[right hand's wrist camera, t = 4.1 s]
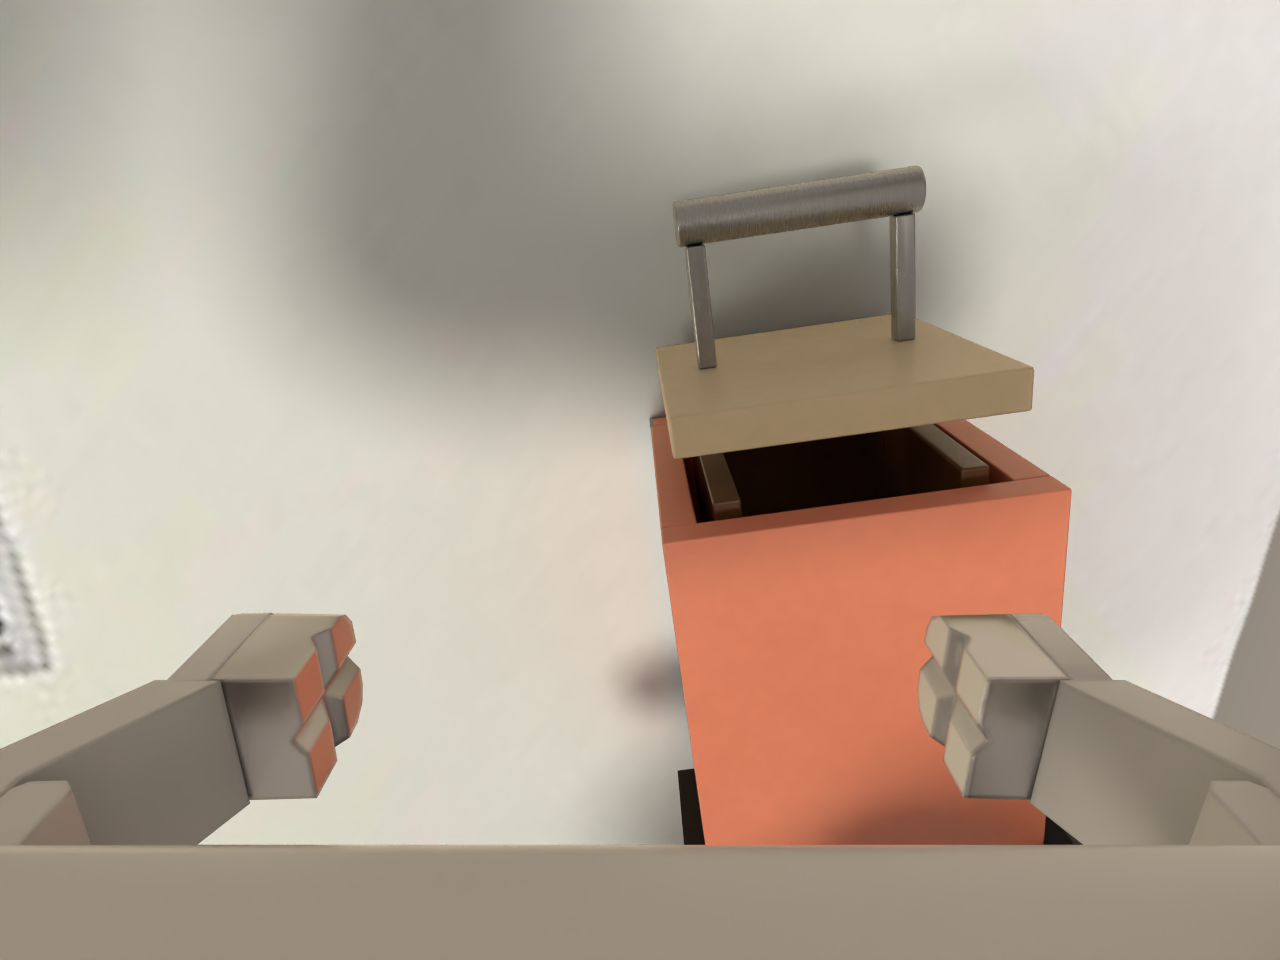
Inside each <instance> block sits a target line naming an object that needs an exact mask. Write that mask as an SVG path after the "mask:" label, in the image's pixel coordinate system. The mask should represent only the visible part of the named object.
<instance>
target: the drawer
mask: <svg viewBox="0 0 1280 960" xmlns="http://www.w3.org/2000/svg"><path fill="white" fill-rule="evenodd" d="M925 196H926V181H925V176H924V172H923V170H922V168H921V167H919V166H911V167H905V168H898V169H891V170H885V171H878V172H871V173H865V174H858V175H851V176H845V177H838V178H831V179H825V180H818V181H811V182H805V183H798V184H791V185H785V186H778V187H771V188H765V189H758V190H751V191H745V192H738V193H731V194H724V195H718V196H711V197H704V198H698V199H691V200H684V201H678V202H674V203H673V216H674V225H675V233H676V240H677V244H678V247H685V248H684V250H685V259H686V268H687V277H688V285H689V294H690V303H691V312H692V321H693V330H694V339H695V342H693V343H686V344H679V345H672V346H665V347H658V348H656V358H657V365H658V373H659V379H660V385H661V391H662V396H663V402H664V408H665V414H666V419H667V425H668V431H669V436H670V442H671V448H672V454H673V457H674V459H681V458H688V457H693V462H694V470H695V478H696V486H697V495H698V503H699V511H700V520H701V523H704V522H711V521H719V520H726V519H734V518H741V517H749V516H756V515H763V514H771V513H778V512H786V511H793V510H801V509H808V508H816V507H823V506H831V505H838V504H846V503H853V502H861V501H868V500H876V499H883V498H891V497H898V496H905V495H913V494H920V493H928V492H935V491H943V490H950V489H958V488H965V487H973V486H980V485H988V484H989V466H988V465H987V464H985V463H984V462H983V461H981V460H980V459H979V458H977V457H976V456H975V455H973V454H972V453H971V452H969V451H968V450H966V449H965V448H964V447H962V446H961V445H960V444H958V443H957V442H956V441H954V440H953V439H952V438H950V437H949V436H948V435H946V434H945V433H944V432H942V431H941V430H939V429H938V428H937V427H935V426H934V425H933V424H936V423H943V422H951V421H958V420H965V419H973V418H980V417H987V416H994V415H1002V414H1009V413H1016V412H1024V411H1029V410H1031V409H1032V395H1033V377H1034V369H1033V367H1031V366H1029V365H1026V364H1024V363H1022V362H1019V361H1017V360H1014V359H1012V358H1010V357H1007V356H1005V355H1002V354H1000V353H997V352H995V351H993V350H990V349H988V348H985V347H983V346H981V345H978V344H976V343H973V342H971V341H969V340H966V339H964V338H961V337H959V336H957V335H954V334H952V333H949V332H947V331H945V330H942V329H940V328H937V327H935V326H933V325H930V324H928V323H925V322H923V321H921V320H918V319H916V318H915V214H913V213H915V212H919V211H920V210H921V209H922V207H923V205H924V202H925ZM888 216H890V278H891V314H889V315H882V316H875V317H868V318H861V319H854V320H847V321H840V322H833V323H826V324H819V325H812V326H805V327H798V328H791V329H784V330H777V331H770V332H763V333H756V334H749V335H742V336H735V337H728V338H721V339H714V331H713V321H712V311H711V302H710V292H709V282H708V272H707V263H706V253H705V246H704V245H703V244H705V243H712V242H719V241H725V240H732V239H739V238H746V237H753V236H759V235H766V234H773V233H780V232H786V231H793V230H800V229H807V228H814V227H820V226H827V225H834V224H841V223H847V222H854V221H861V220H868V219H875V218H881V217H888Z"/></svg>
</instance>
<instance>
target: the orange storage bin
mask: <svg viewBox="0 0 1280 960" xmlns="http://www.w3.org/2000/svg"><path fill="white" fill-rule="evenodd" d="M933 425H934V426H935V427H937V428H938V429H939V430H941V431H942V432H944V433H945V434H946V435H948V436H949V437H950V438H952V439H953V440H954V441H956V442H957V443H958V444H960V445H961V446H962V447H964V448H965V449H966V450H968V451H969V452H971V453H972V454H973V455H975V456H976V457H977V458H979V459H980V460H981V461H983V462H984V463H985V464H987V465H988V466H989V484H988V485H980V486H973V487H965V488H958V489H950V490H943V491H935V492H928V493H920V494H913V495H905V496H898V497H891V498H883V499H876V500H868V501H861V502H853V503H846V504H838V505H831V506H823V507H816V508H808V509H801V510H793V511H786V512H778V513H771V514H763V515H756V516H749V517H741V518H734V519H726V520H719V521H711V522H704V523H701V520H700V511H699V503H698V495H697V486H696V478H695V470H694V462H693V457H688V458H681V459H674V457H673V454H672V448H671V442H670V436H669V431H668V425H667V419H666V417H663V418H656V419H652V418H651V419H650V428H651V436H652V446H653V456H654V466H655V476H656V486H657V496H658V506H659V516H660V526H661V536H662V546H663V553H664V560H665V567H666V574H667V581H668V588H669V595H670V602H671V609H672V616H673V623H674V630H675V637H676V644H677V651H678V658H679V665H680V671H681V678H682V685H683V692H684V699H685V706H686V713H687V720H688V727H689V734H690V741H691V748H692V755H693V762H694V769H695V776H696V783H697V790H698V797H699V804H700V811H701V818H702V825H703V832H704V839H705V845H1044V833H1045V821H1046V815H1045V814H1043V813H1042V812H1041V811H1040V810H1038V809H1037V808H1036V807H1035V806H1033V805H1032V804H1031V803H1030V801H1031V800H1014V799H978V798H963V796H962V795H961V793H960V791H959V789H958V787H957V786H956V784H955V782H954V780H953V778H952V776H951V775H950V773H949V771H948V769H947V767H946V766H945V764H944V762H943V757H944V751H945V747H944V746H943V745H941V744H940V743H938V742H937V741H935V740H934V739H932V738H931V737H930V736H929V734H928V732H927V730H926V728H925V726H924V724H923V721H922V718H921V715H920V712H919V706H918V695H917V686H918V678H919V670H920V668H921V667H922V666H923V665H924V664H925V663H926V662H927V661H928V660H929V659H930V658H931V657H932V654H931V652H930V651H929V649H928V648H927V646H926V644H925V643H924V639H925V634H926V628H927V625H928V623H929V621H930V619H931V616H942V615H982V614H1017V613H1042V614H1045V615H1047V616H1050V617H1051V618H1052V619H1053V620H1054V621H1055V622H1056V623H1057V624H1058V625H1059V626H1060V627H1061V618H1062V605H1063V592H1064V580H1065V567H1066V554H1067V542H1068V529H1069V516H1070V504H1071V489H1070V488H1069V487H1067V486H1066V485H1064V484H1063V483H1061V482H1060V481H1058V480H1056V479H1055V478H1053V477H1052V476H1050V475H1049V474H1047V473H1046V472H1044V471H1043V470H1041V469H1040V468H1038V467H1037V466H1035V465H1034V464H1032V463H1031V462H1029V461H1028V460H1026V459H1024V458H1023V457H1021V456H1020V455H1018V454H1017V453H1015V452H1014V451H1012V450H1011V449H1009V448H1008V447H1006V446H1005V445H1003V444H1002V443H1000V442H999V441H997V440H996V439H994V438H992V437H991V436H989V435H988V434H986V433H985V432H983V431H982V430H980V429H979V428H977V427H976V426H974V425H973V424H971V423H970V422H968V421H967V420H958V421H951V422H943V423H936V424H933Z"/></svg>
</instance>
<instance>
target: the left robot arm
mask: <svg viewBox="0 0 1280 960" xmlns="http://www.w3.org/2000/svg"><path fill="white" fill-rule="evenodd" d="M678 779H679V791H680V802H681V813H682V825H683V836H684V845H705V839H704V832H703V825H702V818H701V811H700V804H699V797H698V790H697V783H696V776H695V769H688V770H680V771H678ZM1044 845H1083V844H1082V843H1080V842H1079V841H1078V840H1077V839H1075V838H1074V837H1073V836H1071V835H1070V834H1069V833H1068V832H1066V831H1065V830H1064V829H1063V828H1061V827H1060V826H1059V825H1057V824H1056V823H1055V822H1054V821H1052V820H1051V819H1050V818H1049V817H1047V816H1046V821H1045V833H1044Z"/></svg>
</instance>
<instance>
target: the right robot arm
mask: <svg viewBox="0 0 1280 960" xmlns="http://www.w3.org/2000/svg"><path fill="white" fill-rule="evenodd" d="M355 643H356V640H355V635H354V630H353V625H352V621H351V620H350V619H349V618H348V617H347V616H346V615H331V614H280V613H277V614H273V613H241V614H236V615H232V616H231V617H230V618H229V619H228V620H227V621H226V622H225V623H224V624H223V625H222V626H221V627H220V628H219V629H218V630H217V631H216V632H215V633H214V634H213V635H212V636H211V637H210V638H209V639H208V640H207V641H206V642H205V643H204V644H203V645H202V646H201V647H200V648H199V649H198V650H197V651H196V652H195V653H194V654H193V655H192V656H191V657H190V658H189V659H188V660H187V661H186V662H185V663H184V664H183V665H182V666H181V667H180V668H179V669H178V670H177V671H176V672H175V673H174V674H173V675H172V676H171V677H170V678H169V679H168V680H155V681H152V682H150V683H148V684H146V685H143V686H141V687H139V688H137V689H134V690H132V691H130V692H128V693H125V694H123V695H121V696H119V697H116V698H114V699H112V700H110V701H107V702H105V703H103V704H101V705H98V706H96V707H94V708H92V709H89V710H87V711H85V712H83V713H80V714H78V715H76V716H74V717H71V718H69V719H67V720H65V721H62V722H60V723H58V724H56V725H53V726H51V727H49V728H47V729H44V730H42V731H40V732H38V733H35V734H33V735H31V736H29V737H26V738H24V739H22V740H19V741H17V742H15V743H13V744H10V745H8V746H6V747H4V748H1V749H0V960H1280V749H1278V748H1276V747H1273V746H1271V745H1269V744H1267V743H1265V742H1262V741H1260V740H1258V739H1256V738H1253V737H1251V736H1249V735H1247V734H1244V733H1242V732H1240V731H1238V730H1235V729H1233V728H1231V727H1229V726H1226V725H1224V724H1222V723H1220V722H1217V721H1215V720H1213V719H1211V718H1208V717H1206V716H1204V715H1202V714H1199V713H1197V712H1195V711H1193V710H1190V709H1188V708H1186V707H1184V706H1182V705H1179V704H1177V703H1175V702H1173V701H1170V700H1168V699H1166V698H1164V697H1161V696H1159V695H1157V694H1155V693H1152V692H1150V691H1148V690H1146V689H1143V688H1141V687H1139V686H1137V685H1134V684H1132V683H1130V682H1128V681H1125V680H1112V679H1111V678H1110V677H1109V676H1108V675H1107V674H1106V673H1105V672H1104V671H1103V670H1102V669H1101V668H1100V667H1099V666H1098V665H1097V664H1096V663H1095V662H1094V661H1093V660H1092V659H1091V658H1090V657H1089V656H1088V655H1087V654H1086V653H1085V652H1084V651H1083V650H1082V649H1081V648H1080V647H1079V646H1078V645H1077V644H1076V643H1075V642H1074V641H1073V640H1072V639H1071V638H1070V637H1069V636H1068V635H1067V634H1066V632H1065V631H1064V630H1063V629H1062V628H1061V627H1060V626H1059V625H1058V624H1057V623H1056V622H1055V621H1054V620H1053V619H1052V618H1051V617H1050V616H1047V615H1045V614H1042V613H1017V614H982V615H942V616H931V619H930V621H929V623H928V625H927V628H926V634H925V639H924V643H925V644H926V646H927V648H928V649H929V651H930V652H931V654H932V657H931V658H930V659H929V660H928V661H927V662H926V663H925V664H924V665H923V666H922V667H921V668H920V670H919V678H918V686H917V695H918V706H919V712H920V715H921V718H922V721H923V724H924V726H925V728H926V730H927V732H928V734H929V736H930V737H931V738H932V739H934V740H935V741H937V742H938V743H940V744H941V745H943V746H944V747H945V751H944V757H943V762H944V764H945V766H946V767H947V769H948V771H949V773H950V775H951V776H952V778H953V780H954V782H955V784H956V786H957V787H958V789H959V791H960V793H961V795H962V796H963V798H978V799H1014V800H1031V801H1030V803H1031V804H1032V805H1033V806H1035V807H1036V808H1037V809H1038V810H1040V811H1041V812H1042V813H1043V814H1045V815H1046V816H1047V817H1049V818H1050V819H1051V820H1052V821H1054V822H1055V823H1056V824H1057V825H1059V826H1060V827H1061V828H1063V829H1064V830H1065V831H1066V832H1068V833H1069V834H1070V835H1071V836H1073V837H1074V838H1075V839H1077V840H1078V841H1079V842H1080V843H1082V844H1083V845H197V844H199V843H200V842H201V841H202V840H204V839H205V838H206V837H208V836H209V835H210V834H211V833H213V832H214V831H215V830H216V829H218V828H219V827H220V826H222V825H223V824H224V823H225V822H227V821H228V820H229V819H230V818H232V817H233V816H234V815H236V814H237V813H238V812H239V811H241V810H242V809H243V808H245V807H246V806H247V805H248V804H250V801H249V800H265V799H300V798H317V797H318V795H319V793H320V791H321V789H322V787H323V786H324V784H325V782H326V780H327V778H328V777H329V775H330V773H331V771H332V769H333V767H334V766H335V764H336V762H337V756H336V751H335V747H336V746H337V745H339V744H340V743H342V742H343V741H345V740H346V739H348V738H349V737H350V736H351V734H352V732H353V730H354V728H355V726H356V724H357V722H358V718H359V714H360V710H361V705H362V694H363V684H362V677H361V670H360V668H359V667H358V666H357V665H356V664H355V663H354V662H353V661H352V660H351V659H350V658H349V657H348V654H349V652H350V651H351V649H352V648H353V646H354V645H355Z"/></svg>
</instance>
